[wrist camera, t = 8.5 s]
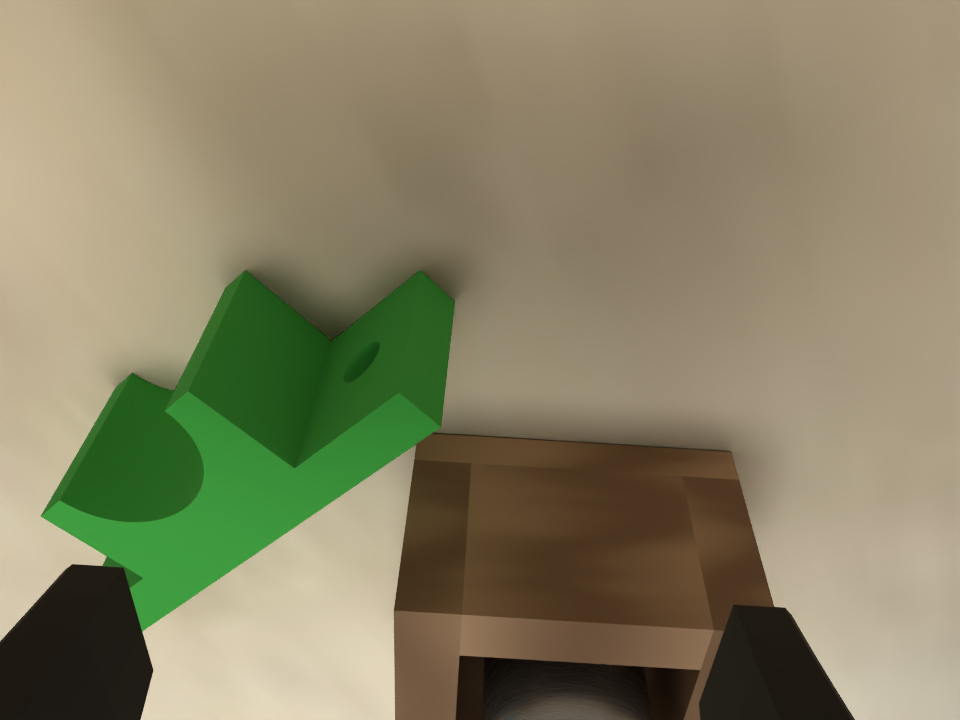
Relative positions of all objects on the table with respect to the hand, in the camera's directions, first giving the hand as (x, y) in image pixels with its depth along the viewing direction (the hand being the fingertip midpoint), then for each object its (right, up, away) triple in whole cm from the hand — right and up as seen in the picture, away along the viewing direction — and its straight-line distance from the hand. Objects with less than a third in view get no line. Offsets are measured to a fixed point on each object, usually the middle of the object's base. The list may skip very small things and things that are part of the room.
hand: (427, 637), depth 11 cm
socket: (+3, -2, +14) cm, 15 cm away
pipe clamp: (-5, +3, +11) cm, 13 cm away
